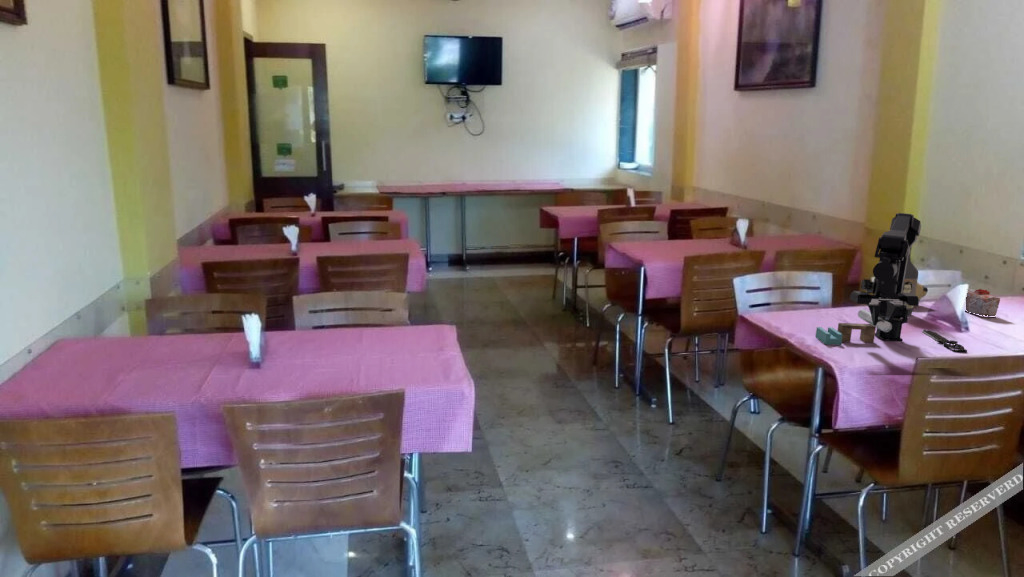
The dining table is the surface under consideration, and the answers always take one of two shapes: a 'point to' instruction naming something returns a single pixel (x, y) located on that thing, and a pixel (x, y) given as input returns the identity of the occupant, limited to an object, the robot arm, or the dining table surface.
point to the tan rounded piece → (920, 291)
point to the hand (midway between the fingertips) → (880, 325)
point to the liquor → (910, 280)
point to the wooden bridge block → (866, 329)
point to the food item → (981, 302)
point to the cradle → (829, 336)
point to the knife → (945, 341)
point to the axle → (881, 323)
